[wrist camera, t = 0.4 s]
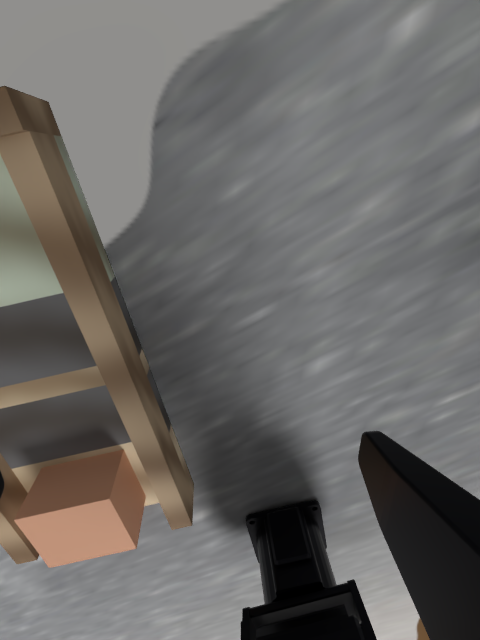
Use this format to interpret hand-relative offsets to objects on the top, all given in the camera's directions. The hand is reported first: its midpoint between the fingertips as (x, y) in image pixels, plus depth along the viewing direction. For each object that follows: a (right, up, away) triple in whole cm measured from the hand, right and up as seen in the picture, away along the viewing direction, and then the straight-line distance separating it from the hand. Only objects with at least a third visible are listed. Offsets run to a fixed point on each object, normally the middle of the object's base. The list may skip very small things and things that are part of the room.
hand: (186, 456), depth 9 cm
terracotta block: (-9, -9, +17) cm, 22 cm away
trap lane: (-12, +1, +14) cm, 18 cm away
